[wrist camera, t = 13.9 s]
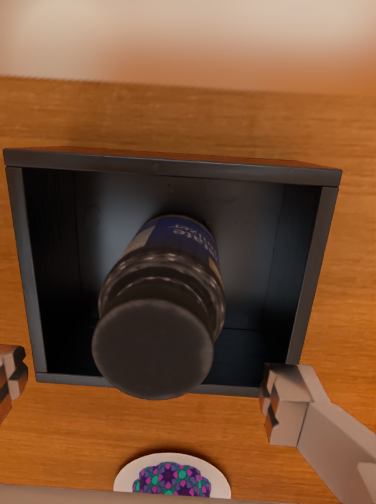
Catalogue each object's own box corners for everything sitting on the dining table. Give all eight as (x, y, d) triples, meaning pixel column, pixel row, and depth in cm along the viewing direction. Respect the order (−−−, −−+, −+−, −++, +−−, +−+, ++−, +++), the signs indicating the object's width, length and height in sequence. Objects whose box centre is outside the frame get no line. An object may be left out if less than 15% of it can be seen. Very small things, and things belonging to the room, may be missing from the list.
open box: (63, 146, 20) (1, 148, 14) (297, 160, 20) (343, 169, 14) (77, 320, 25) (35, 382, 18) (267, 333, 25) (291, 400, 18)
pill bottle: (234, 253, 22) (269, 356, 11) (176, 306, 23) (159, 439, 13) (172, 192, 20) (144, 246, 10) (114, 253, 22) (39, 354, 11)
